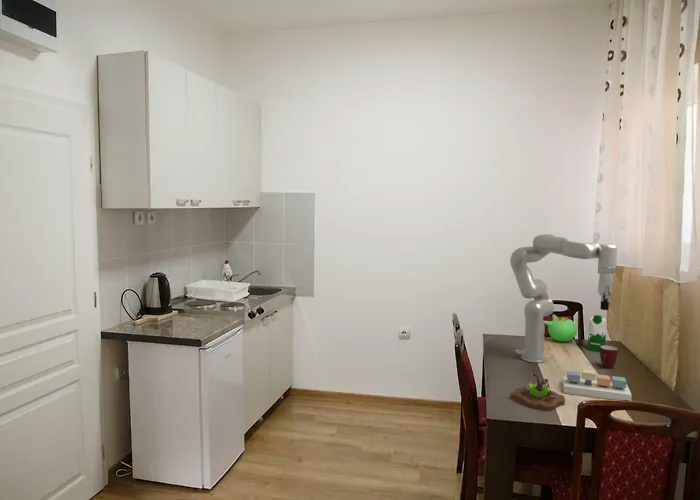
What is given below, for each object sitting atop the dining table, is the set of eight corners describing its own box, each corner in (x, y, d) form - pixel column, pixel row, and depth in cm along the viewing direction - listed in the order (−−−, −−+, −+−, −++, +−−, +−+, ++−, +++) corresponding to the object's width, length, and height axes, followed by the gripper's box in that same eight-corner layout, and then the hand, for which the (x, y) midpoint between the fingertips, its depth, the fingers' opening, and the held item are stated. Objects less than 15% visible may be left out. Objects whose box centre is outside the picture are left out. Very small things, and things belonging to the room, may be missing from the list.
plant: (529, 388, 223) (531, 364, 222) (571, 402, 208) (573, 376, 207) (503, 398, 211) (504, 373, 210) (545, 414, 196) (547, 387, 195)
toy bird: (570, 346, 288) (572, 321, 286) (541, 340, 299) (542, 316, 297) (580, 340, 302) (581, 316, 300) (551, 335, 312) (552, 312, 311)
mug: (613, 372, 245) (614, 352, 244) (595, 368, 250) (596, 349, 249) (618, 366, 253) (619, 347, 252) (601, 363, 258) (602, 344, 257)
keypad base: (563, 392, 217) (564, 386, 217) (562, 382, 230) (562, 375, 230) (631, 401, 208) (631, 395, 208) (625, 390, 221) (626, 383, 221)
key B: (582, 385, 218) (583, 372, 218) (581, 382, 223) (582, 369, 223) (594, 387, 217) (595, 374, 216) (593, 383, 221) (594, 370, 221)
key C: (597, 391, 216) (597, 378, 216) (595, 387, 221) (596, 374, 221) (610, 393, 215) (610, 379, 214) (608, 389, 219) (609, 375, 219)
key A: (567, 387, 221) (567, 374, 220) (566, 383, 225) (567, 370, 225) (579, 389, 219) (580, 375, 218) (578, 385, 224) (579, 372, 223)
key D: (612, 393, 214) (613, 379, 214) (611, 389, 219) (611, 376, 218) (625, 395, 213) (626, 381, 212) (623, 390, 217) (624, 377, 217)
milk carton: (586, 350, 280) (588, 315, 278) (588, 346, 288) (590, 312, 286) (604, 353, 276) (606, 317, 274) (605, 349, 283) (607, 314, 281)
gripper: (596, 268, 240) (593, 305, 241) (599, 272, 226) (597, 312, 227) (613, 269, 237) (611, 307, 239) (618, 273, 223) (615, 313, 225)
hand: (604, 309), depth 233 cm, fingers closed
